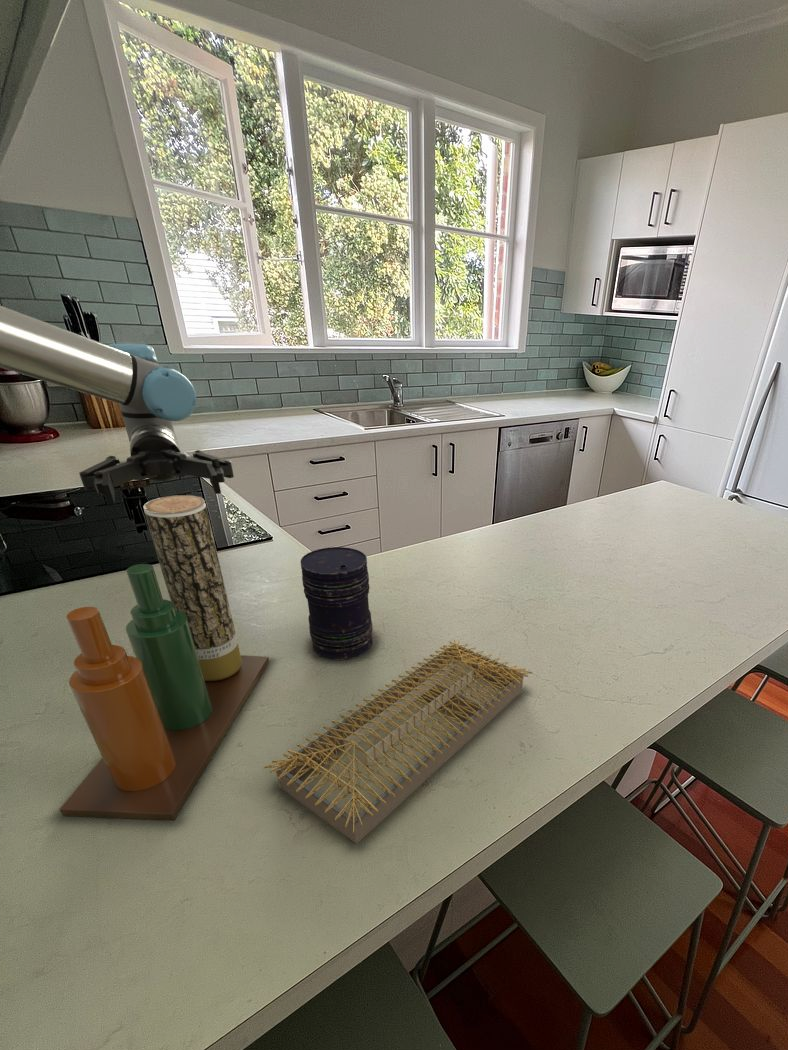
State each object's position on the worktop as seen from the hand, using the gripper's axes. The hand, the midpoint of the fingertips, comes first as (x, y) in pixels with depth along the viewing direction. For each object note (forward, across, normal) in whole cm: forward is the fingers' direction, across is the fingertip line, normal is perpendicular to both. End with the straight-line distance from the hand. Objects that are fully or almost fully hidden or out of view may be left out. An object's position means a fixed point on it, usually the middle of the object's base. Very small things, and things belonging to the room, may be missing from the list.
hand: (164, 489), depth 77 cm
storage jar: (+13, -20, -24) cm, 34 cm away
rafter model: (+38, -22, -24) cm, 50 cm away
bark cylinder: (+13, -1, -23) cm, 27 cm away
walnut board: (+23, +5, -24) cm, 33 cm away
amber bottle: (+31, +9, -24) cm, 40 cm away
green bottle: (+22, +4, -24) cm, 33 cm away
